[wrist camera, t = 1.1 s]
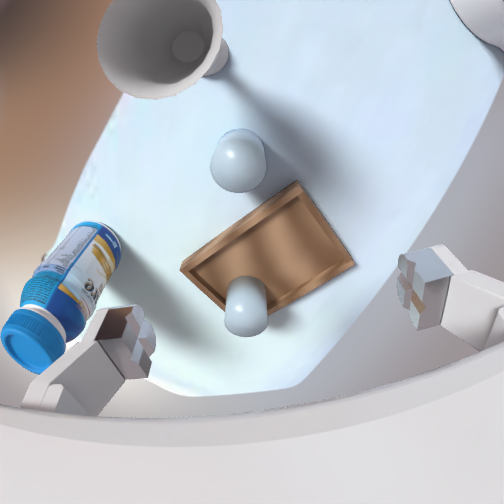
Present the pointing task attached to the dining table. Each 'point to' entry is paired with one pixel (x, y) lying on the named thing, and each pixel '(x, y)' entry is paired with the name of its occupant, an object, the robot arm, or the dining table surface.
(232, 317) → the white rounded capsule
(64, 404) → the robot arm
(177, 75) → the chalice
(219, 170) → the grey rounded piece
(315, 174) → the dining table surface
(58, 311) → the beverage bottle
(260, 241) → the tray
